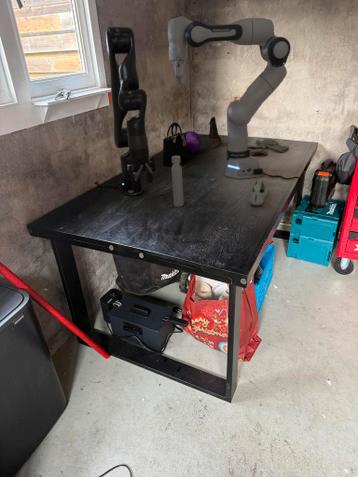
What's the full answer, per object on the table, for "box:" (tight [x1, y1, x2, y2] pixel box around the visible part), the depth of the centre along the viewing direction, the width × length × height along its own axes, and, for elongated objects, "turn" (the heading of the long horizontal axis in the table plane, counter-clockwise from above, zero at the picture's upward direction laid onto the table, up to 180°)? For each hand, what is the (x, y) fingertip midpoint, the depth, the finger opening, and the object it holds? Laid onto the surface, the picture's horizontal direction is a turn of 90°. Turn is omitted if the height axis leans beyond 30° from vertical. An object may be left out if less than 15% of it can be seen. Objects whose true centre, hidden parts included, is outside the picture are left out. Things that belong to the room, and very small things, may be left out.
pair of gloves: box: [247, 138, 290, 156], centre depth 228 cm, size 30×26×5 cm
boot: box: [208, 116, 222, 149], centre depth 245 cm, size 9×24×20 cm, turn 168°
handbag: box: [162, 122, 190, 167], centre depth 211 cm, size 21×9×25 cm, turn 148°
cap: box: [172, 156, 182, 164], centre depth 147 cm, size 4×4×2 cm
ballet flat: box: [249, 179, 269, 207], centre depth 158 cm, size 8×24×8 cm, turn 163°
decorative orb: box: [184, 130, 202, 154], centre depth 230 cm, size 15×15×15 cm
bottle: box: [170, 163, 185, 208], centre depth 152 cm, size 5×5×23 cm
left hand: (143, 186), depth 134 cm, fingers open, 8 cm apart
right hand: (179, 86), depth 168 cm, fingers open, 8 cm apart
